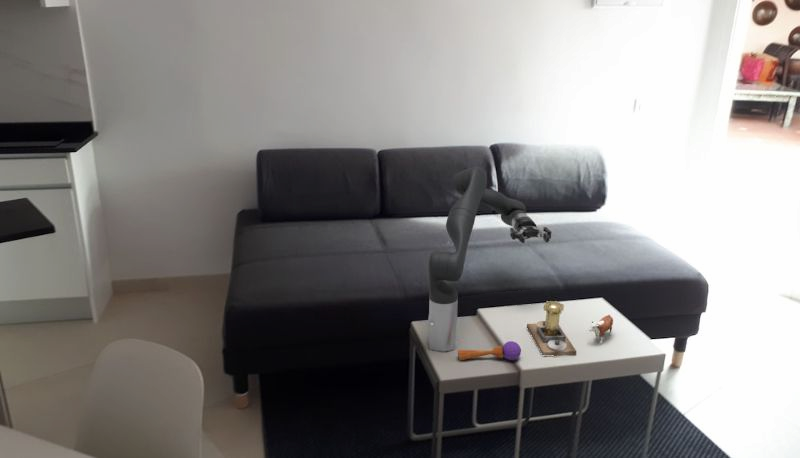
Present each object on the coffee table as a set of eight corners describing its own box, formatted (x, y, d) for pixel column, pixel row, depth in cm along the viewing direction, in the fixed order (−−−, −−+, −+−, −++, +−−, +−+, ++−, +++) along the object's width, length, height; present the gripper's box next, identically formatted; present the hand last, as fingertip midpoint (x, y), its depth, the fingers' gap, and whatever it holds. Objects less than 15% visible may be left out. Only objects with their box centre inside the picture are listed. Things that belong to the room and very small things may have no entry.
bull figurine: (584, 344, 211) (587, 322, 209) (604, 330, 220) (606, 309, 218) (596, 348, 208) (599, 326, 206) (615, 334, 217) (618, 313, 215)
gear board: (542, 356, 204) (543, 346, 202) (526, 327, 222) (527, 318, 221) (576, 355, 204) (577, 345, 203) (557, 326, 223) (557, 317, 222)
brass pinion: (543, 341, 210) (546, 308, 206) (538, 332, 216) (541, 300, 212) (562, 340, 210) (566, 308, 206) (557, 332, 216) (560, 300, 212)
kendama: (457, 343, 204) (518, 338, 204) (458, 360, 205) (519, 355, 205) (459, 349, 198) (522, 344, 198) (460, 367, 199) (523, 362, 199)
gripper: (505, 216, 234) (516, 230, 219) (543, 215, 235) (556, 229, 220) (504, 235, 237) (515, 250, 221) (541, 234, 238) (554, 249, 222)
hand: (535, 240), depth 221 cm, fingers open, 8 cm apart
